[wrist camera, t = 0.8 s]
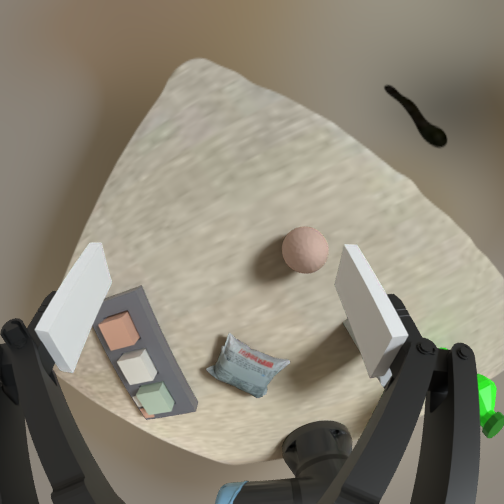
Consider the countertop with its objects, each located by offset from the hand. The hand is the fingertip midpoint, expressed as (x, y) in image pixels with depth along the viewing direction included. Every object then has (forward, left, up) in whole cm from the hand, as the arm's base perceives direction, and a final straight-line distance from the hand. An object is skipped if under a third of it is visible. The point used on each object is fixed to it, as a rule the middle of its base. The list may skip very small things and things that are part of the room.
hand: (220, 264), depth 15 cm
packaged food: (-22, +6, -31) cm, 39 cm away
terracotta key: (-9, +24, -29) cm, 38 cm away
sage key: (-23, +24, -29) cm, 44 cm away
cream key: (-16, +24, -29) cm, 41 cm away
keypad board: (-16, +24, -30) cm, 42 cm away
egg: (-6, -8, -31) cm, 32 cm away
